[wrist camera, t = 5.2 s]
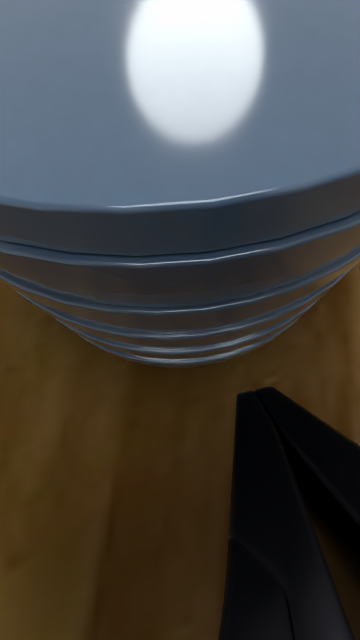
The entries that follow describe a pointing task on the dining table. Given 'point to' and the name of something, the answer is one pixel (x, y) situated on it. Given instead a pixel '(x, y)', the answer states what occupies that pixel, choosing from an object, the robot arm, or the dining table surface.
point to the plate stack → (178, 168)
